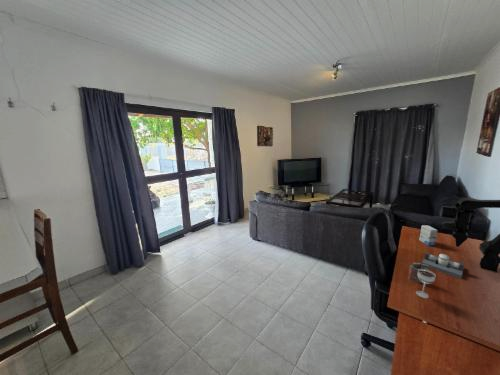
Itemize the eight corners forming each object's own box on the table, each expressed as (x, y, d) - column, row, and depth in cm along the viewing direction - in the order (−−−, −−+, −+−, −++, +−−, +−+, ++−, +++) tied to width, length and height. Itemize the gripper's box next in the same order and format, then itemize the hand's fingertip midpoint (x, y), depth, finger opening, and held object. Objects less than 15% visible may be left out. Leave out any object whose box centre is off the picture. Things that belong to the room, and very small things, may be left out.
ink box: (435, 245, 148) (438, 230, 146) (427, 245, 148) (431, 230, 146) (425, 239, 157) (428, 225, 154) (418, 239, 157) (421, 225, 154)
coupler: (447, 266, 125) (450, 256, 124) (446, 270, 122) (449, 259, 121) (437, 263, 129) (439, 252, 127) (436, 266, 126) (438, 255, 124)
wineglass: (414, 287, 109) (418, 266, 106) (431, 293, 105) (435, 272, 102) (413, 295, 104) (417, 273, 101) (431, 301, 100) (436, 279, 97)
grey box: (408, 279, 115) (411, 263, 112) (407, 276, 118) (410, 260, 115) (427, 284, 111) (430, 267, 109) (425, 280, 114) (429, 264, 112)
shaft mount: (463, 267, 124) (465, 259, 123) (461, 278, 115) (463, 269, 113) (426, 256, 136) (427, 248, 135) (421, 265, 127) (423, 257, 126)
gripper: (445, 212, 136) (441, 234, 140) (442, 220, 123) (438, 245, 127) (470, 216, 128) (465, 239, 132) (470, 225, 116) (464, 251, 119)
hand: (457, 243), depth 128 cm, fingers open, 9 cm apart
